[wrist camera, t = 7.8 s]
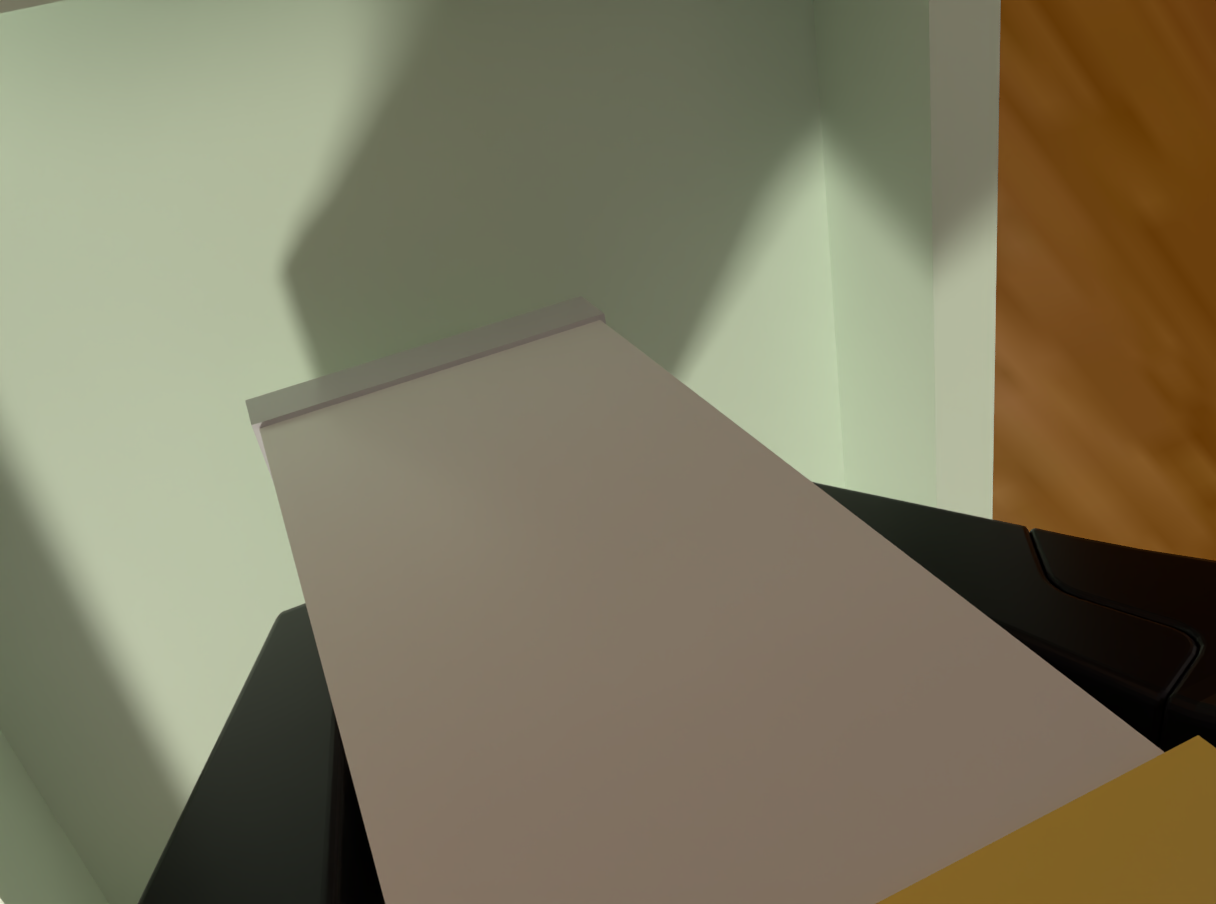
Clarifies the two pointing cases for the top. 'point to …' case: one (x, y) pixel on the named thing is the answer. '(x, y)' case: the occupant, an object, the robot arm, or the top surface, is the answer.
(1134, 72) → the top surface
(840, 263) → the tray
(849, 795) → the yellow-capped grey block
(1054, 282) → the top surface
